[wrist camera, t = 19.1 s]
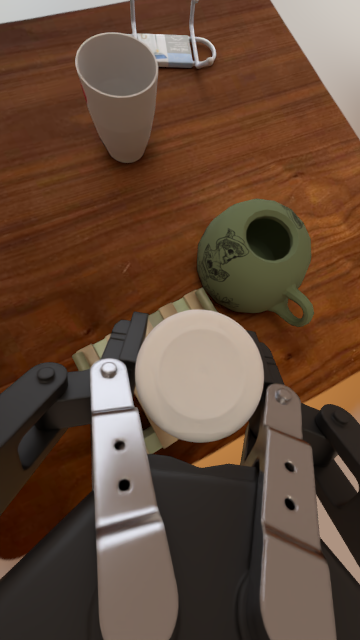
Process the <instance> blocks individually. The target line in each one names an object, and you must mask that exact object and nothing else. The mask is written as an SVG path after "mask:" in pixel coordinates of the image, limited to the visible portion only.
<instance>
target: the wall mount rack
mask: <svg viewBox="0 0 360 640" xmlns="http://www.w3.org/2000/svg"><path fill="white" fill-rule="evenodd" d="M195 3H198V0H192V2H191V12H190V33H191V37H189V36H187V35H163V34H136V25H135V8H134V0H130V7H131V24H132V31H133V34H127V35H130V36H132V37H135V38H137V39H139V40H140V41H142V42H143V43H144V44H146V45H147V46H148V47H149V48H150V49H151V51H152V52H153V53H154V55H155V57H156V59H157V63H158V67H180V68H192V66H196V68H197V69H199V68H202V67H205V66H211V65H212V64H213V62H214V60H215V58H216V50H215V48H214V46H213V45H212V43H211V42H209V41H208V40H206V39H204V38H200V37H195V35H194V29H193V19H194V10H195ZM189 42H192V47H193V53H194V58H195V61H193V60H192V54H191V48H190V43H189ZM196 42H199V43H203V44H205V45H207V46H208V47H209V48H210V49H211V51H212V57H209V58H207V59H206V60H205V61H203V62H199V60H198V53H197V47H196Z"/></svg>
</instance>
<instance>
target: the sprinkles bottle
mask: <svg viewBox="0 0 360 640" xmlns="http://www.w3.org/2000/svg"><path fill="white" fill-rule="evenodd" d="M135 383H136V389H137V393H138V397H139V399H140V402H141V404H142V406H143V408H144V410H145V411H146V413H147V414H148V416H149V417H150V418H151V420H152V421H153V422H154V423H155V424H156V425H157V426H158V427H159V428H161V429H162V430H163V431H165V432H166V433H168V434H170V435H172V436H174V437H176V438H178V439H181V440H185V441H189V442H201V443H203V442H212V441H216V440H220V439H222V438H225V437H227V436H230V435H231V434H233V433H234V432H236V431H237V430H239V429H240V428H241V427H242V426H243V425H244V424H245V423H246V422H247V421H248V420H249V419H250V417H251V416H252V415H253V413H254V412H255V410H256V408H257V406H258V404H259V401H260V399H261V395H262V391H263V384H264V369H263V362H262V359H261V356H260V353H259V350H258V348H257V346H256V344H255V342H254V341H253V339H252V338H251V336H250V335H249V334H248V332H247V331H246V330H245V329H244V328H243V327H242V326H241V325H240V324H238V323H237V322H236V321H234V320H232V319H231V318H230V317H227V316H225V315H223V314H221V313H218V312H215V311H210V310H200V309H197V310H187V311H183V312H179V313H177V314H174V315H172V316H170V317H168V318H166V319H164V320H163V321H162V322H160V323H159V324H158V325H157V326H156V327H154V329H153V330H152V331H151V332H150V333H149V334H148V336H147V337H146V338H145V340H144V342H143V344H142V345H141V348H140V350H139V353H138V356H137V360H136V366H135Z"/></svg>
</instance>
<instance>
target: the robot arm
mask: <svg viewBox="0 0 360 640" xmlns="http://www.w3.org/2000/svg"><path fill="white" fill-rule="evenodd" d="M148 315H149V314H146V313H140V312H134V313H133V316H132V319H131V321H127V320H120V321H119V322H118V323H117V324H115V326H114V328H113V330H112V333H111V335H110V338H109V340H108V342H107V345H106V347H105V350H104V352H103V354H102V357H101V359H100V360H98V361H97V362H95V363H94V364H93V365H92V366H91V368H90V369H87V370H84V371H76V372H67V370H66V368H65V367H64V366H62V365H61V364H58V363H52V362H48V363H42V364H39V365H36V366H34V367H33V368H31V369H30V370H29V371H27V372H26V373H25V374H24V375H23V376H21V377H20V378H19V379H18V380H17V381H15V382H14V383H13V384H12V385H11V386H10V387H8V388H7V389H6V390H5V391H4V392H2V393H1V394H0V515H1V514H2V513H3V511H4V510H5V509H6V507H7V506H8V505H9V504H10V502H11V501H12V500H13V498H14V497H15V496H16V495H17V493H18V492H19V491H20V489H21V488H22V487H23V486H24V484H25V483H26V482H27V480H28V479H29V478H30V477H31V475H32V474H33V473H34V471H35V470H36V469H37V468H38V466H39V465H40V464H41V462H42V461H43V460H44V459H45V457H46V456H47V455H48V453H49V452H50V451H51V450H52V448H53V447H54V446H55V444H56V443H57V442H58V441H59V439H60V438H61V437H62V435H63V434H64V433H65V432H66V430H67V429H68V427H74V426H80V425H86V424H90V427H91V463H92V491H91V492H90V493H89V494H88V495H87V496H86V497H85V498H84V499H83V500H82V501H81V502H80V503H79V504H78V505H77V506H76V507H75V508H74V509H73V510H72V511H71V512H70V513H69V514H68V515H67V516H66V517H64V518H63V519H62V520H61V521H60V522H59V523H58V524H57V525H56V526H55V527H54V528H53V529H52V530H51V531H50V532H49V533H48V534H47V535H46V536H45V537H44V538H43V539H42V540H41V541H40V542H39V543H38V544H37V545H36V546H35V547H33V548H32V549H31V550H30V551H29V552H28V553H27V554H26V555H25V556H24V557H23V558H22V559H21V560H20V561H19V562H18V563H17V564H16V565H15V566H14V567H13V568H12V569H11V570H10V571H9V572H8V573H7V574H6V575H5V576H3V577H2V578H1V579H0V640H360V584H359V583H358V582H357V581H356V579H355V578H354V577H353V576H352V575H351V574H350V572H349V571H348V570H347V569H346V568H345V567H344V565H343V564H342V563H341V562H340V561H339V559H338V558H337V557H336V556H335V555H334V554H333V552H332V551H331V550H330V549H329V548H328V546H327V545H326V544H325V543H324V542H323V540H322V539H321V538H320V535H319V525H318V513H317V502H316V495H317V496H318V498H319V500H320V501H321V503H322V505H323V506H324V508H325V510H326V512H327V513H328V515H329V517H330V518H331V520H332V522H333V523H334V525H335V527H336V528H337V530H338V532H339V533H340V535H341V537H342V538H343V540H344V542H345V544H346V545H347V547H348V549H349V550H350V552H351V554H352V555H353V557H354V559H355V560H356V562H357V564H358V565H359V567H360V424H359V423H358V422H357V421H356V420H355V418H354V417H353V416H352V415H351V414H350V413H348V412H347V411H346V410H344V409H343V408H341V407H339V406H336V405H332V404H327V405H324V406H323V407H322V408H321V410H317V409H315V408H312V407H309V406H307V405H305V404H303V403H301V402H300V398H299V397H298V395H297V394H296V393H295V392H294V391H293V390H292V389H290V388H289V387H287V386H285V385H284V383H283V380H282V378H281V375H280V373H279V370H278V368H277V366H276V363H275V361H274V359H273V356H272V353H271V351H270V349H269V348H268V347H267V346H266V345H265V344H264V343H261V342H259V340H258V338H257V335H256V333H255V332H253V331H247V330H246V331H247V332H248V334H249V335H250V336H251V338H252V339H253V341H254V342H255V344H256V346H257V348H258V350H259V353H260V356H261V359H262V362H263V369H264V384H263V391H262V395H261V399H260V401H259V404H258V406H257V408H256V410H255V412H254V413H253V415H252V416H251V417H250V419H249V424H248V426H247V428H246V432H245V438H244V445H243V451H242V457H241V463H240V465H234V464H225V465H218V466H211V467H205V468H199V467H196V466H194V465H191V464H188V463H186V462H183V461H181V460H178V459H176V458H173V457H170V456H163V455H155V454H147V451H146V446H145V441H144V436H143V431H142V426H141V421H140V416H139V411H138V409H137V407H134V404H133V395H134V390H135V386H136V383H135V366H136V360H137V356H138V353H139V350H140V348H141V345H142V344H143V342H144V340H145V337H146V330H147V323H148ZM337 455H339V456H340V457H341V459H342V460H343V461H344V463H345V464H346V465H347V467H348V468H349V470H350V471H351V472H352V474H353V475H354V476H355V478H356V480H357V481H358V484H359V492H358V493H357V491H356V490H355V489H354V487H353V486H352V484H351V483H350V482H349V480H348V479H347V477H346V476H345V475H344V473H343V472H342V470H341V469H340V467H339V466H338V465H337V463H336V462H335V460H334V458H335V457H336V456H337Z"/></svg>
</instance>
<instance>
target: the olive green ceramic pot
mask: <svg viewBox="0 0 360 640" xmlns="http://www.w3.org/2000/svg"><path fill="white" fill-rule="evenodd" d="M310 261H311V239H310V237H309V234H308V232H307V230H306V228H305V225H304V223H303V222H302V221H301V220H300V219H299V217H298V216H297V215H296V214H295V213H294V212H293V211H292V210H291V209H289V208H287V207H285V206H283V205H281V204H279V203H277V202H275V201H271V200H263V199H253V200H249V201H245V202H241V203H237V204H234V205H233V206H231V207H229V208H228V209H227V210H225V211H224V212H223V213H221V214H220V215H219V216H217V217H216V218H215V219H214V220H213V221H212V222H211V223H210V225H209V226H208V227H207V229H206V230H205V232H204V234H203V236H202V238H201V240H200V242H199V244H198V257H197V271H198V274H199V277H200V280H201V282H202V285H203V288H204V289H205V290H206V291H207V292H208V294H209V295H210V296H211V297H212V298H213V299H214V300H215V301H216V302H217V303H219V304H220V305H222V306H224V307H226V308H228V309H230V310H232V311H235V312H246V313H259V312H263V311H266V310H269V311H272V312H275V313H276V314H278V315H279V316H280V317H281V318H283V319H284V320H285V321H286V322H288V323H289V324H291V325H293V326H297V327H301V326H304V325H306V324H308V323H309V322H310V321H311V319H312V317H313V315H314V311H313V305H312V304H311V302H310V301H309V300H308V298H307V297H306V296H305V295H304V294H302V293H301V292H300V291H299V290H298V287H299V286H300V285H301V283H302V281H303V279H304V276H305V274H306V271H307V269H308V266H309V264H310ZM288 298H289V299H291V300H293V301H294V302H296V303H297V304H298V305H299V306H300V307H301V308H302V310H303V317H302V318H301V319H298V318H297V317H295V316H294V315H293V314H292V313H291V312H290V310H289V308H288V306H287V303H288Z"/></svg>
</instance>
